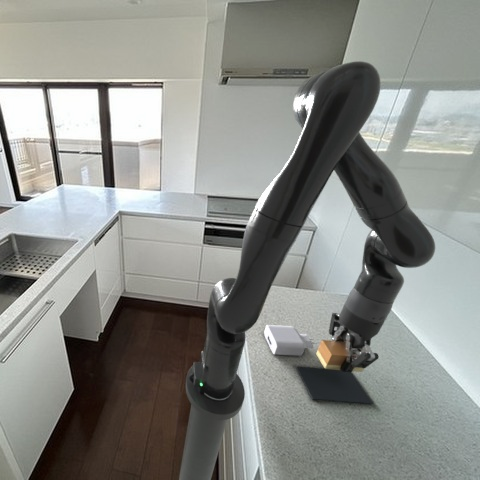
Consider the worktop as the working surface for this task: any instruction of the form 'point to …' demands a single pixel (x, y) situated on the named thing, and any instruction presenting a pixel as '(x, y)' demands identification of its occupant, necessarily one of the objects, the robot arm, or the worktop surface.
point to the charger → (287, 340)
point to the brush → (333, 354)
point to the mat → (333, 385)
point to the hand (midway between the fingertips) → (338, 361)
